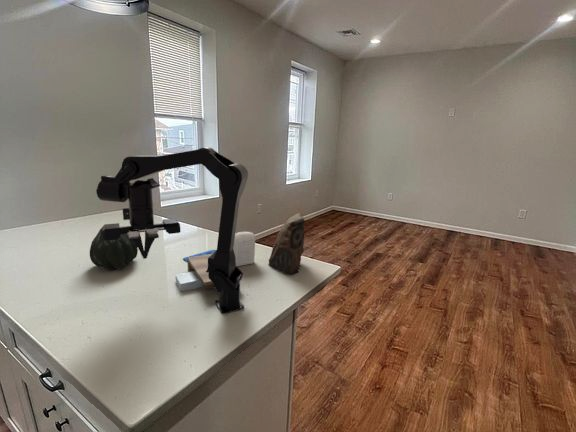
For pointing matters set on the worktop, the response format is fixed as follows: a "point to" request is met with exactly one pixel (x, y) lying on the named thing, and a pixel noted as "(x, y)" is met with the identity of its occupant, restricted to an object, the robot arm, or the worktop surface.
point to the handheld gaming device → (200, 254)
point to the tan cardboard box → (201, 269)
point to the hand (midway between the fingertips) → (144, 258)
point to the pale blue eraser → (188, 281)
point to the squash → (112, 251)
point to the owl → (289, 246)
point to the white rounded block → (244, 248)
